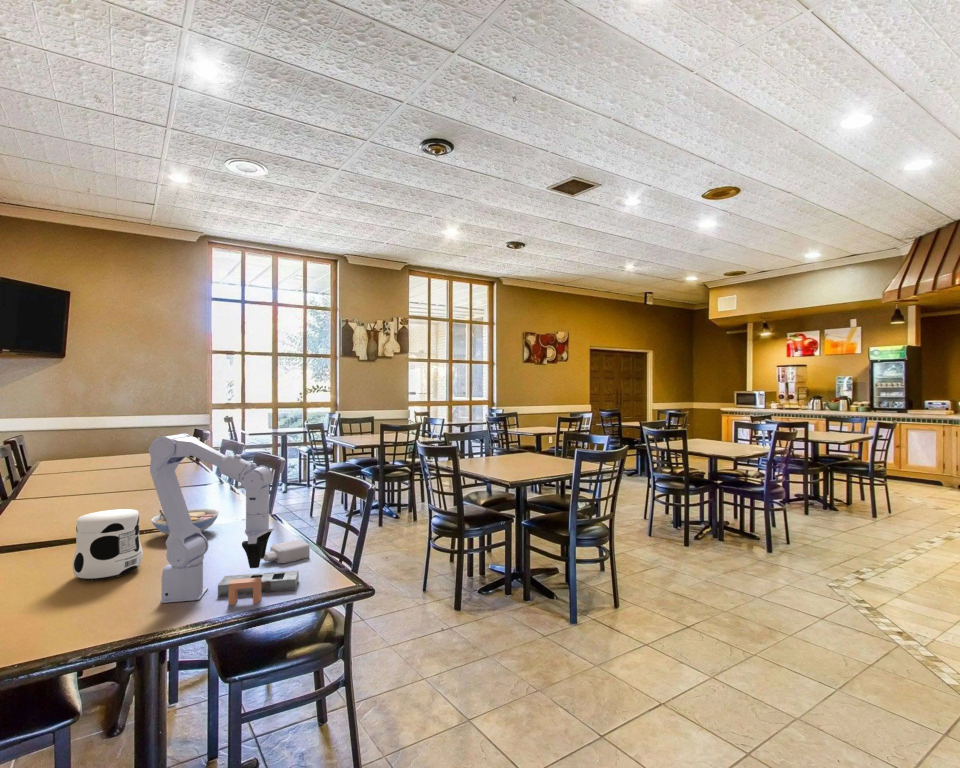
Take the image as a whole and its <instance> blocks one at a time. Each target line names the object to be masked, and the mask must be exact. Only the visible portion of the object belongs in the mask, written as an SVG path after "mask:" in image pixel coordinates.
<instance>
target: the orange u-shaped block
mask: <svg viewBox="0 0 960 768" xmlns="http://www.w3.org/2000/svg"><path fill="white" fill-rule="evenodd" d="M243 588H253V594H252V602H253V604H256V603H260V602H261V600H262V593H261V577H260V578H247V579H234V580H231V581H230V583H229V596H228V606H232V605H233V606H234V605H235V604H237V602H238V597H239V595H238V589H243ZM236 601H237V602H236Z"/></svg>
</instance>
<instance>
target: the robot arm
mask: <svg viewBox="0 0 960 768" xmlns="http://www.w3.org/2000/svg"><path fill="white" fill-rule="evenodd" d="M148 454H149V455H150V463H149V466H150V467H149V473H150V476H151V479H152V482H153V485H154V488H155V491H156V493H157V494H156V495H157V496H158V500H159V502H160V506H161V510H162V512H163V514H164V515H165V518H166V521H167V524H168V527H169V530H170V534H169V535H168V536H167V539H166V541H165V547H166V555H165V556H166V560H167V562H168V563H169V564H166V565H164V567H163V569H162V573H161V600H160V604H165V603H166V604H167V603H177V602H189V601H192V602H193V601H199V600H201V598H202V597H203V596H204V595H205V593H206V592H207V591H208V590H209V588H208V586H206V587H205V586H204V577H203V576H204V557H205V554H206V553H207V552H208V549H209V541H208V539H207V538H206V537H205V536H204V534H203V533H202V532H201V530H200V528H198V527H196V526H194V525H193V524H192V521H191V518H190V515H189V512H188V510H189V508H188V506H187V504H186V501H185V498H184V495H183V492H182V489H181V486H180V482H179V480H178V476H177V474H176V470H177V468H178V466H179V465H180V463H181V462H182V461H183V460H184V459H186V458H187V457H191V456H192V457H194V458H197V459H199V460H202V461H204V462H206V463H209V464H211V465H214V466H216V467H218V469H219V472H220V474H222V475H224V476H226V477H228V478H229V479H232V480H234V481H236V482H238V483H241V485H242V487H243V489H244V490H245V529H244V533H245V535H246V536H247V540H243V541H242V543H241V546H242V547H241V548H243V550H244V551H245V554H246V557H247V558H246V559H247V562H248V566H249V568H250V569H259V567H260V564H261V560H262V559H261V558H264V556H265V553H266V552H267V551H266V550H267V544H268V541H269V539H270V536H271V534H272V533H273V531H274V530H275V527H274V526H270V485H271V484H272V482H273V479H274V476H273V472H272V470H271V469H270V468H269V467H267V466H266V465H259V466H257V463H255V462H250V461H248V460H246V459H244V458H242V455H240V454H239V453H237V454H229V455H225V454H223V453H222V452H220V451H218V450H217V449H215V448H212V447H211V446H210V445H208V444H205V443H204V442H202V441H200V440H199V439H198V437H195V436H191V435H190V434H188V433H185V432H184V433H183V432H182V433H178V434H174V435H173V434H172V435H166V436H164V435H163V436H162V435H161V436H158V437H156V438H155V439H154V440H153V442H152V443H151V444H150V446H149V447H148ZM260 559H261V560H260Z"/></svg>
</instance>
